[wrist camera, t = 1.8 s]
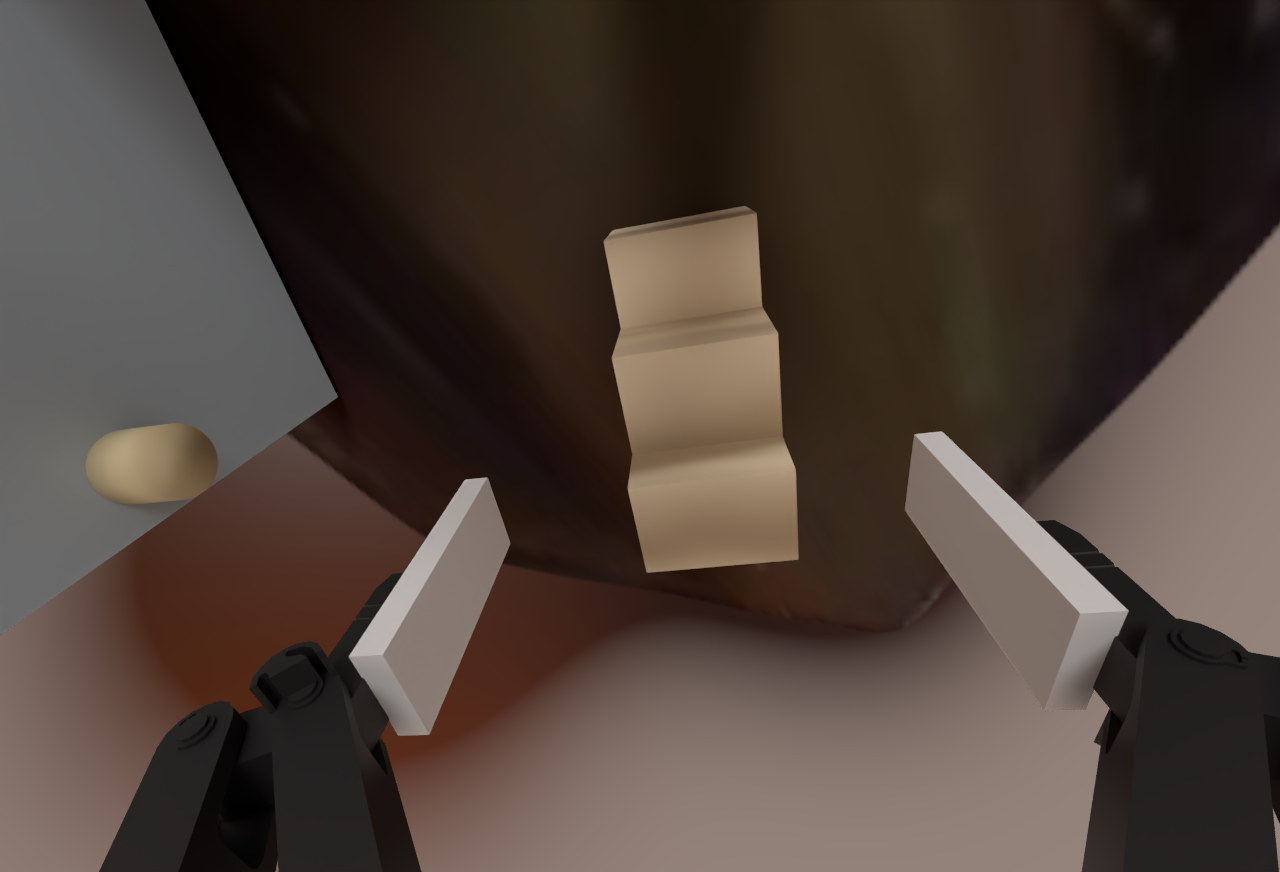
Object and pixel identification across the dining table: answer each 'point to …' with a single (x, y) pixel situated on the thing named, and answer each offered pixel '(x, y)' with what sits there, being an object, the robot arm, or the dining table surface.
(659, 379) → the toy staircase
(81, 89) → the door
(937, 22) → the dining table surface
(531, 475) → the dining table surface
